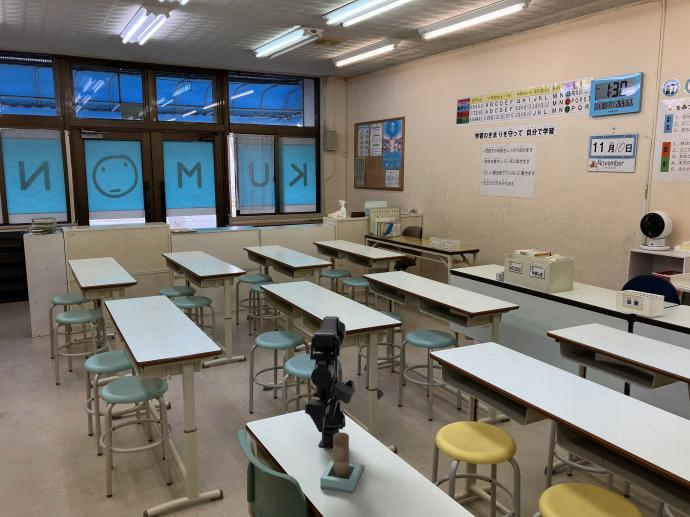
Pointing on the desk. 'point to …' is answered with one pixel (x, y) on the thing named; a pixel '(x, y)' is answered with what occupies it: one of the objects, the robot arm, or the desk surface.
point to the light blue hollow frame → (339, 483)
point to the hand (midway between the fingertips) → (326, 425)
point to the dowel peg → (341, 455)
